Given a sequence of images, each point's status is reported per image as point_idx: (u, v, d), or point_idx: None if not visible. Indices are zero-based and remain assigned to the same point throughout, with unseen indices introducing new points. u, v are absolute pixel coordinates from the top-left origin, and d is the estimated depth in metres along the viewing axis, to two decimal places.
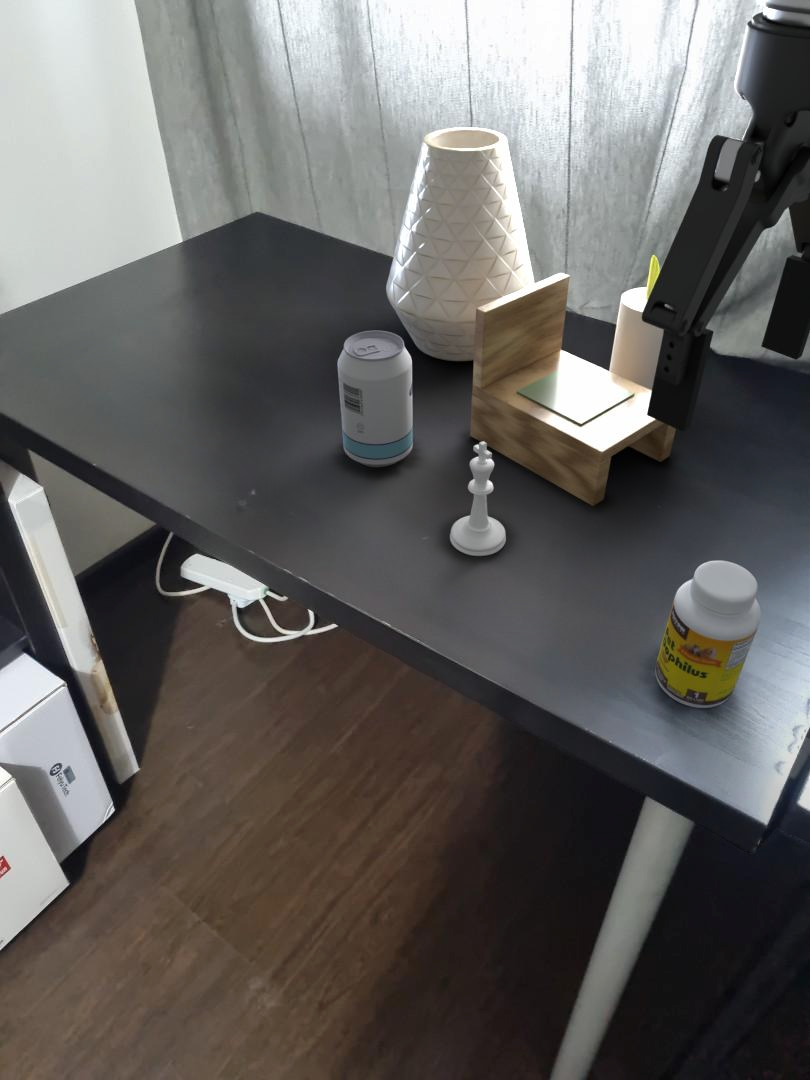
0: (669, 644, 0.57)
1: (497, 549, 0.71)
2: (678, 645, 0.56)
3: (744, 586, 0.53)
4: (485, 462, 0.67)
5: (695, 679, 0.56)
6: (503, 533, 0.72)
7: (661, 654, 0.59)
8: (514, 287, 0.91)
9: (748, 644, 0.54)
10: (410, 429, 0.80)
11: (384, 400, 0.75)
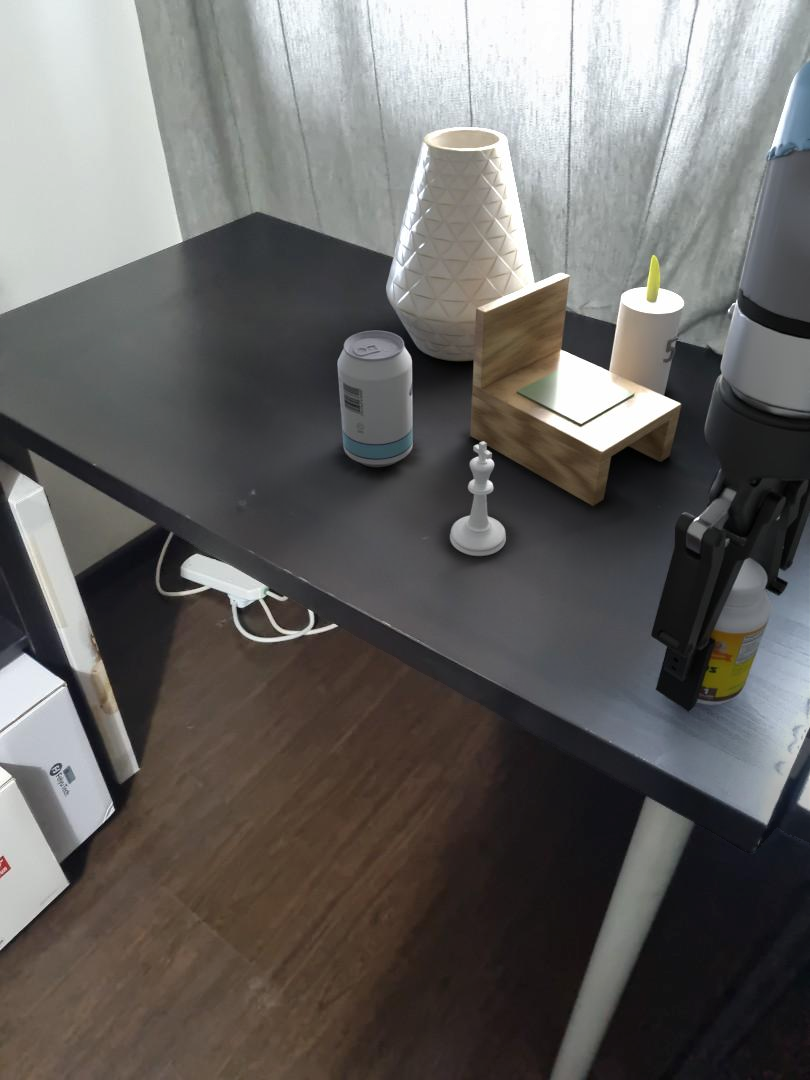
0: None
1: (497, 549, 0.71)
2: None
3: (754, 578, 0.52)
4: (485, 462, 0.67)
5: None
6: (503, 533, 0.72)
7: None
8: (514, 287, 0.91)
9: (758, 637, 0.53)
10: (410, 429, 0.80)
11: (384, 400, 0.75)
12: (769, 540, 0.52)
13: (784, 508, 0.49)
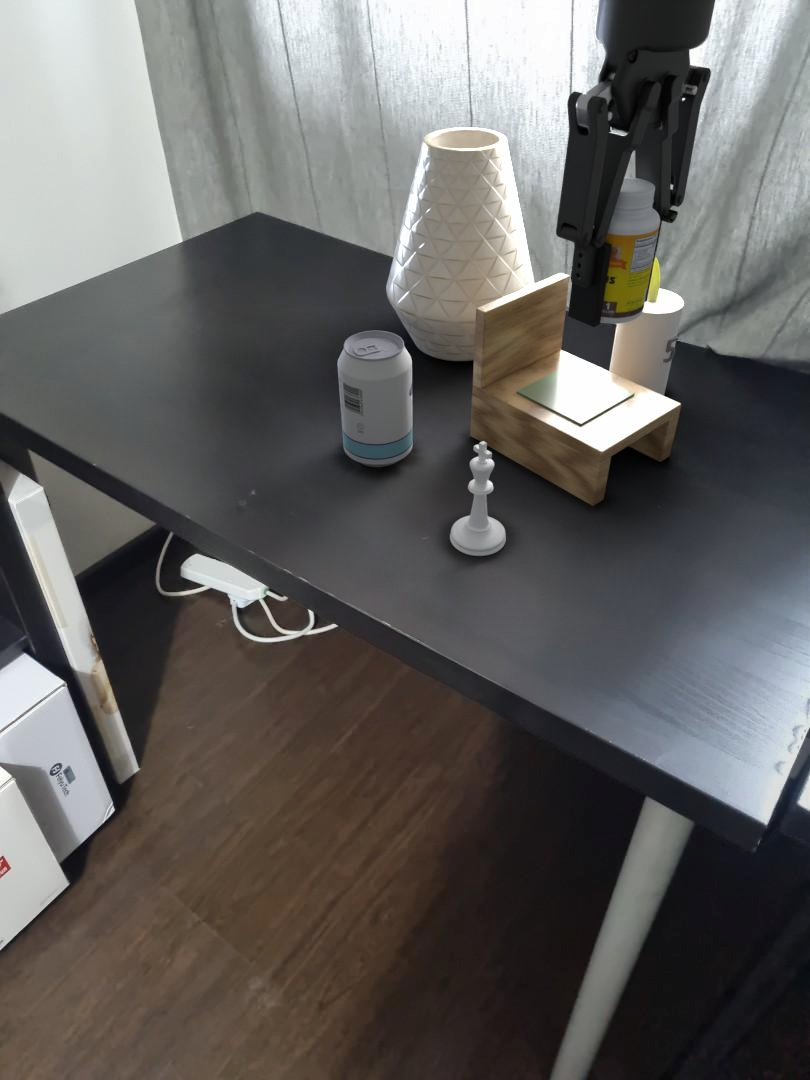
0: None
1: (497, 549, 0.71)
2: None
3: (643, 187, 0.62)
4: (485, 462, 0.67)
5: (605, 287, 0.65)
6: (503, 533, 0.72)
7: None
8: (514, 287, 0.91)
9: (649, 246, 0.63)
10: (410, 429, 0.80)
11: (384, 400, 0.75)
12: (657, 156, 0.62)
13: (664, 111, 0.59)
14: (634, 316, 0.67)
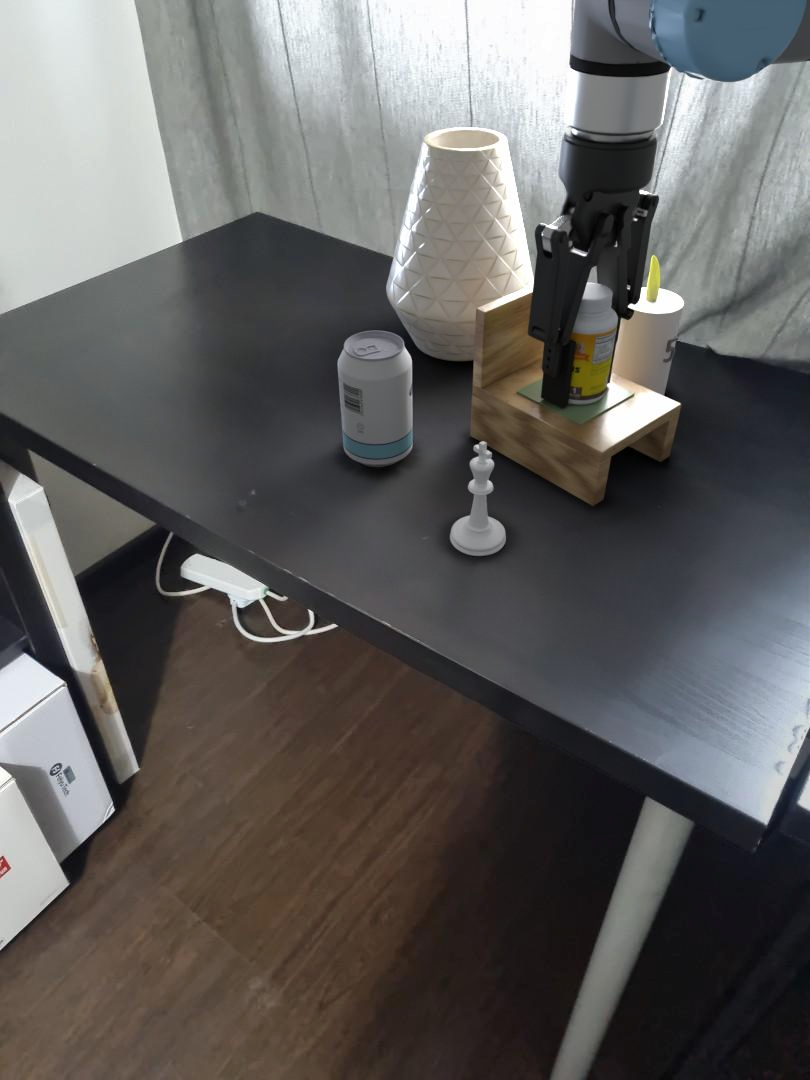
0: None
1: (497, 549, 0.71)
2: None
3: (602, 294, 0.72)
4: (485, 462, 0.67)
5: None
6: (503, 533, 0.72)
7: None
8: (514, 287, 0.91)
9: (608, 342, 0.74)
10: (410, 429, 0.80)
11: (384, 400, 0.75)
12: (614, 267, 0.72)
13: (618, 233, 0.69)
14: (597, 398, 0.77)
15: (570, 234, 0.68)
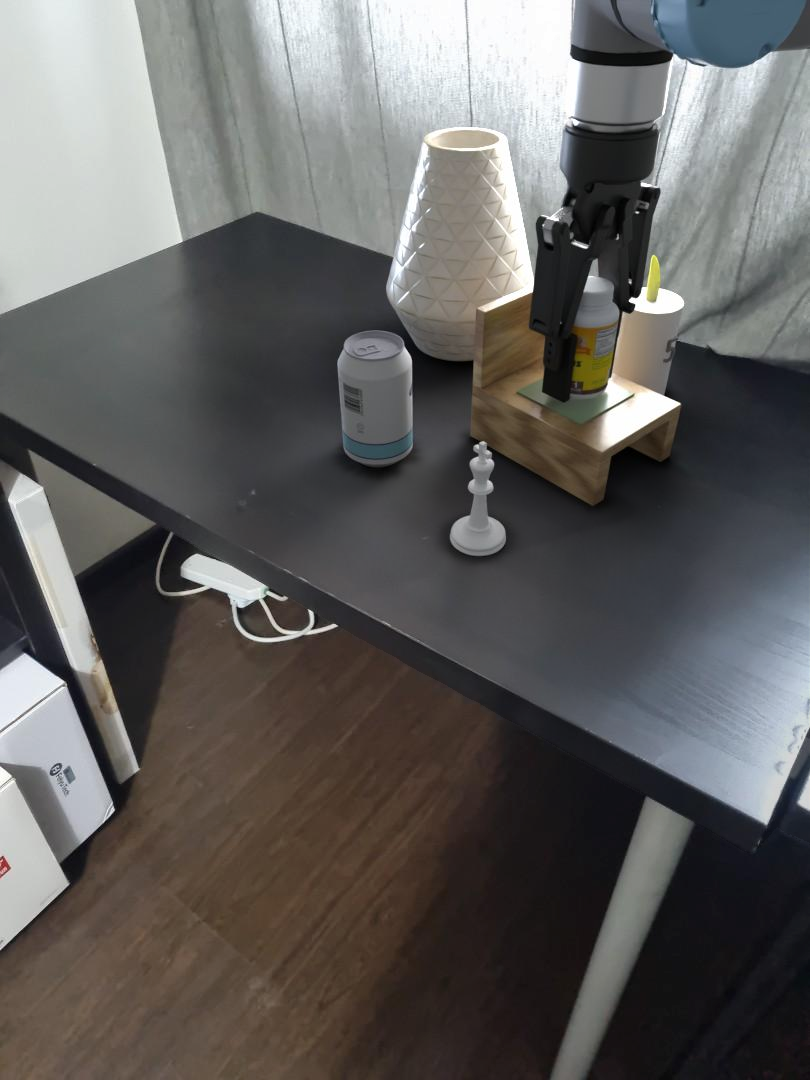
0: None
1: (497, 549, 0.71)
2: None
3: (603, 287, 0.72)
4: (485, 462, 0.67)
5: (573, 369, 0.75)
6: (503, 533, 0.72)
7: None
8: (514, 287, 0.91)
9: (609, 335, 0.73)
10: (410, 429, 0.80)
11: (384, 400, 0.75)
12: (615, 260, 0.72)
13: (620, 226, 0.69)
14: (599, 393, 0.77)
15: (571, 226, 0.68)
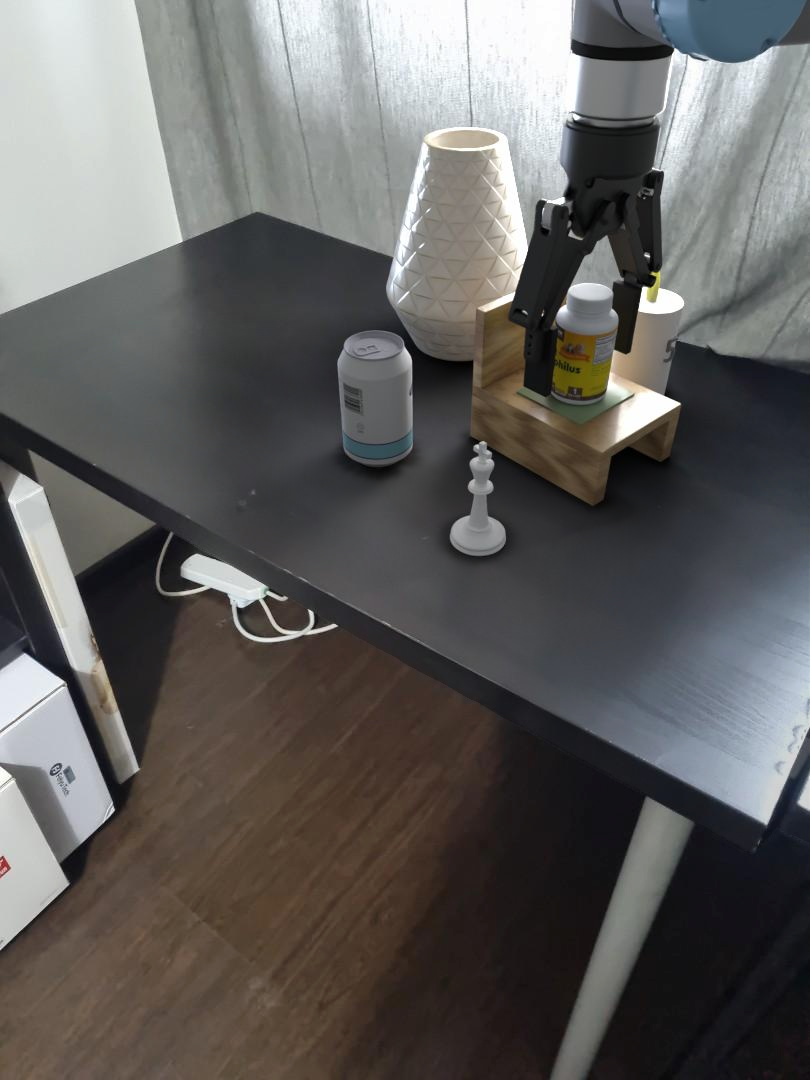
0: None
1: (497, 549, 0.71)
2: (559, 348, 0.75)
3: (603, 294, 0.72)
4: (485, 462, 0.67)
5: (572, 375, 0.75)
6: (503, 533, 0.72)
7: None
8: (514, 287, 0.91)
9: (608, 342, 0.74)
10: (410, 429, 0.80)
11: (384, 400, 0.75)
12: (627, 246, 0.72)
13: (624, 219, 0.69)
14: (598, 399, 0.77)
15: (571, 222, 0.67)
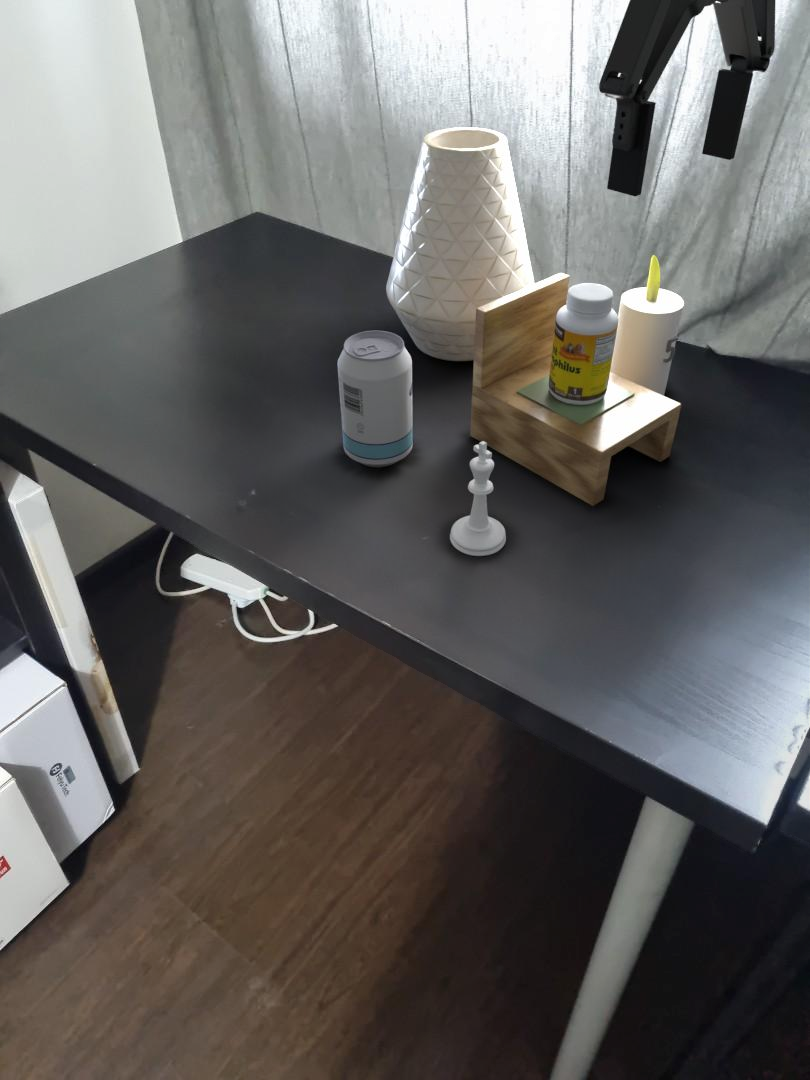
0: (554, 352, 0.76)
1: (497, 549, 0.71)
2: (559, 348, 0.75)
3: (603, 294, 0.72)
4: (485, 462, 0.67)
5: (572, 375, 0.75)
6: (503, 533, 0.72)
7: None
8: (514, 287, 0.91)
9: (608, 342, 0.74)
10: (410, 429, 0.80)
11: (384, 400, 0.75)
12: (739, 19, 0.64)
13: None
14: (598, 399, 0.77)
15: None
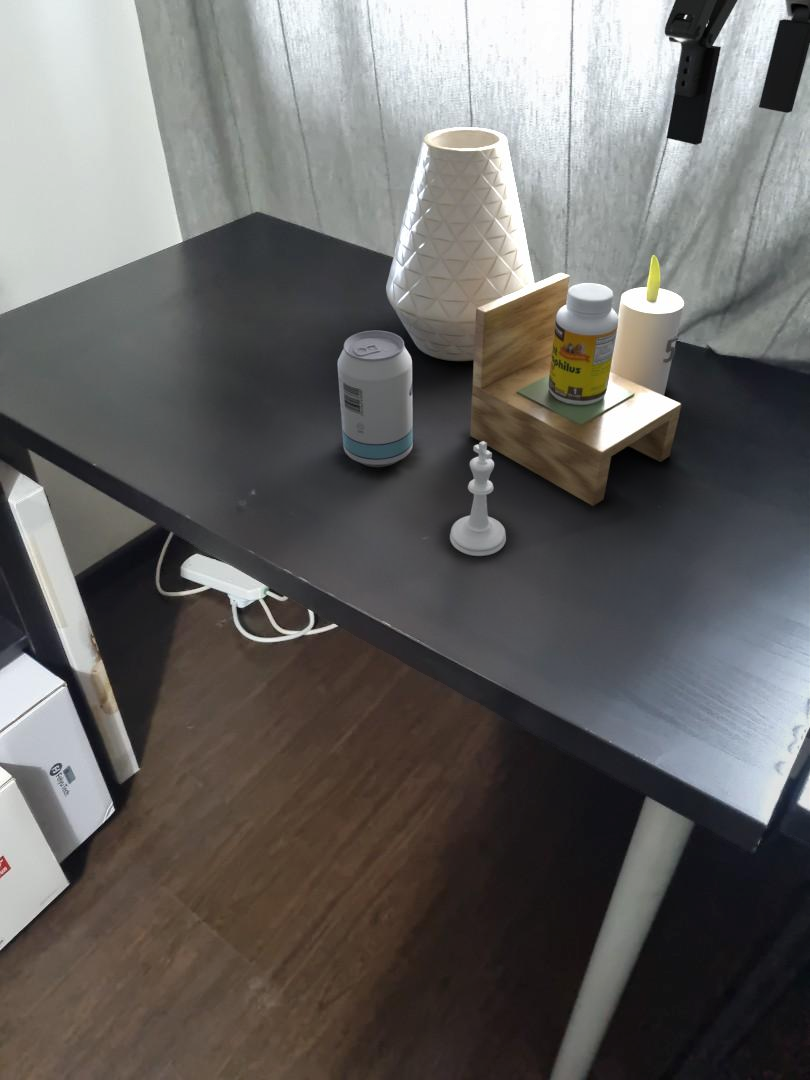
0: (554, 352, 0.76)
1: (497, 549, 0.71)
2: (559, 348, 0.75)
3: (603, 294, 0.72)
4: (485, 462, 0.67)
5: (572, 375, 0.75)
6: (503, 533, 0.72)
7: None
8: (514, 287, 0.91)
9: (608, 342, 0.74)
10: (410, 429, 0.80)
11: (384, 400, 0.75)
12: None
13: None
14: (598, 399, 0.77)
15: None
